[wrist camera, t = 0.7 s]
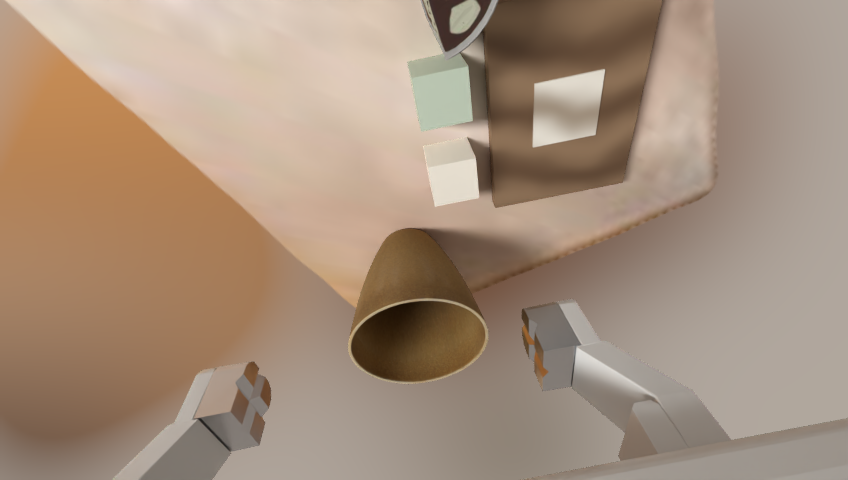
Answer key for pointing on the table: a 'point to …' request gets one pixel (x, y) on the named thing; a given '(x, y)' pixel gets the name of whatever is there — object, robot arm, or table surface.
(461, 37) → the food container
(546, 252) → the table surface
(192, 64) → the table surface
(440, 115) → the sage green block
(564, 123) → the board
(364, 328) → the plant pot
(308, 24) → the table surface
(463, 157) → the cream block
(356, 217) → the table surface
